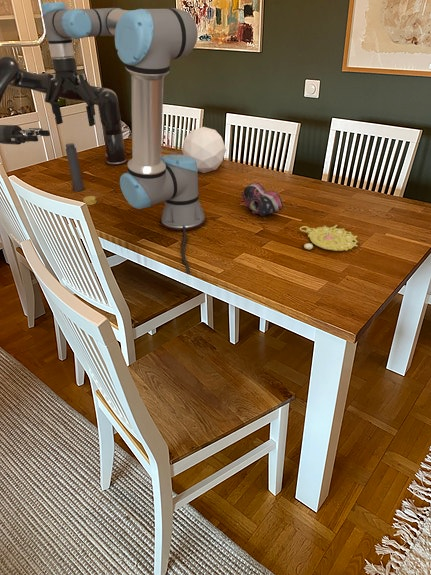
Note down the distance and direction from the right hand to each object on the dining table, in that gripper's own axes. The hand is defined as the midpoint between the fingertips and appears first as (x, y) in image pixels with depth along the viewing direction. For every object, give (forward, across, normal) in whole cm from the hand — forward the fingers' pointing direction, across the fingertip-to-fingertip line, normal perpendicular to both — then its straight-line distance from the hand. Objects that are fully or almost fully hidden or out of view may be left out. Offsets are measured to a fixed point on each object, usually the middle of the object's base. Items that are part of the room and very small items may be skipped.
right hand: (75, 124), depth 158 cm
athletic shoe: (+30, -65, -10) cm, 72 cm away
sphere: (+30, -30, -49) cm, 64 cm away
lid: (+28, 0, 0) cm, 28 cm away
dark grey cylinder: (+30, +14, -12) cm, 35 cm away
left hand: (+8, +25, -11) cm, 28 cm away
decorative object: (+30, -93, +7) cm, 97 cm away
